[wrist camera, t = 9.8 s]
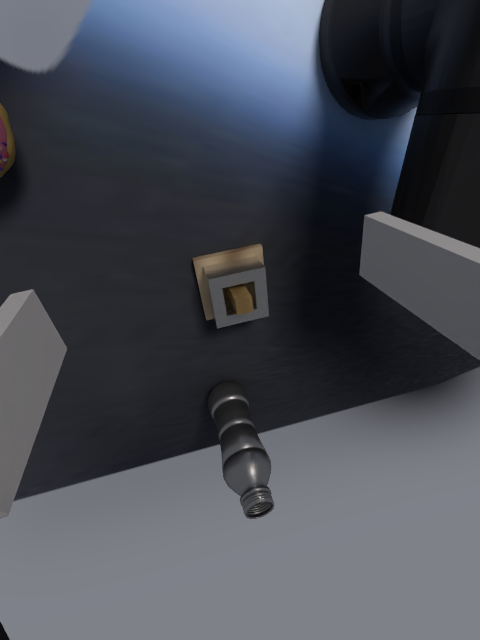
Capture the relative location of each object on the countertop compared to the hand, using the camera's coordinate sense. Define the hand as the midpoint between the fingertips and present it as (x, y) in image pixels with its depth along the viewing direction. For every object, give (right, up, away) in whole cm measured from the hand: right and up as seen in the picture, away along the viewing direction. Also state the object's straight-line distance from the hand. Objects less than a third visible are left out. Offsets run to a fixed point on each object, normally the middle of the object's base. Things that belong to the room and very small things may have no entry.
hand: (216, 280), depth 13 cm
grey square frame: (0, +3, +29) cm, 30 cm away
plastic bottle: (-2, -14, +41) cm, 43 cm away
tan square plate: (0, +4, +30) cm, 30 cm away
